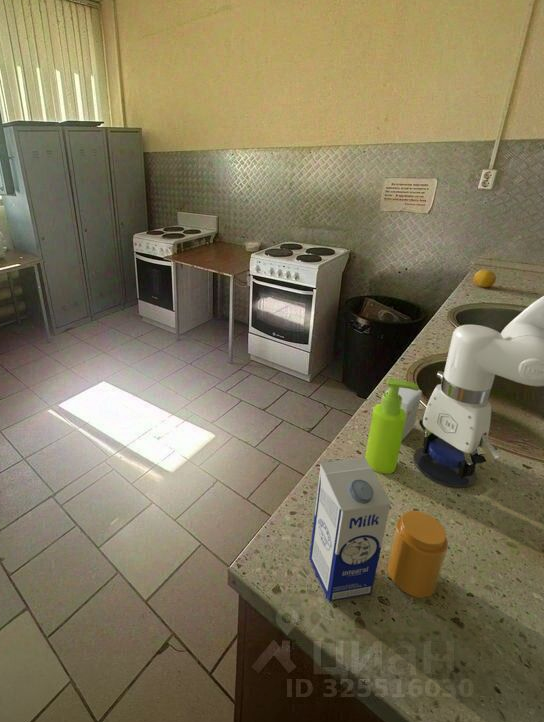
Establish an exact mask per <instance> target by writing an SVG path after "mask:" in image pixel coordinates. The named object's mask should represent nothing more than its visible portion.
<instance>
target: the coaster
mask: <svg viewBox="0 0 544 722" xmlns="http://www.w3.org/2000/svg"><path fill="white" fill-rule="evenodd" d="M423 448H424V446H423V447H420V448H418V449H416V451H414V454H413V459H412V460H413V464H414V465H415V467H416V468H417V470H418V471H419V472H420V473H421V474H422V475H423V476H424V477H426V478H427V479H429V480H431V481H432V482H435V483H437V484H439V485H442V486H445V487H447V488H448V487H449V488H453V489H465V488H470V487H472V486H473V485H474V484H475V483H476V481H477V472H476V469H475V470H474V473H473V475H471V476H466V477H464V478H462V479H461V478H459V477H458V473H459V469H460V468H451V467H447V466H444V465H442V464H440V463H438V462H437V461H435V460H434V459H433V458H432V457H431V456H430V454H429V453H428V454H424V453H423Z"/></svg>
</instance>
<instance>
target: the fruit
mask: <svg viewBox="0 0 544 722" xmlns="http://www.w3.org/2000/svg"><path fill="white" fill-rule="evenodd" d="M472 278H473V279H472V280H473V283H474V285H475V286H477V287H480V288H490V287H492V286H493V285H494V284H495V283H496V281H497V280H496V279H497V276H496V273H495V272H493V271H491V270H489V269H481V270H478V271H476V273H474V275H473V277H472Z"/></svg>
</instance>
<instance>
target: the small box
mask: <svg viewBox="0 0 544 722" xmlns="http://www.w3.org/2000/svg"><path fill="white" fill-rule="evenodd" d="M385 392H389V388H388V389H387V390H386V391H385ZM398 394H399V395H400V396H401V397H402V403H401V409H403V410H404V411H405V413H406V421H405V426H404V430H403V435H402V440H401V442H403V440H405V438H406V437H407V435H408V434H410V432H411V431H412V430H413V429H414V428H415V425H416V421H417V418H418V417H417V415H416V413H415V411H416V410H419V409H420V408H419V407H420V404H421V398H422V395H423V390H421V389H419V390H418V391H415V390H412V389H407V388H399V392H398ZM382 398H383V394H382V395H381V399H382ZM380 403H382V400H381V402H380Z"/></svg>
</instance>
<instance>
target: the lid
mask: <svg viewBox="0 0 544 722" xmlns="http://www.w3.org/2000/svg"><path fill="white" fill-rule="evenodd" d="M428 452H429V454H430V456H431V457H432V458H433V459H434V460H435V461H437V462H438V463H440V464H442V465H444V466H447V467H451V468H460V465H461V462H462V461H463V460H465V457H464V453H463V452H462V451H461V450H459V449H457V448H456V447H454V446H452V445H451V444H449V443H447V442H446V441H444V440H443V439H441V438H440V437H438V438H435V439H433V440H431V441H430V443H429V447H428Z"/></svg>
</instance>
